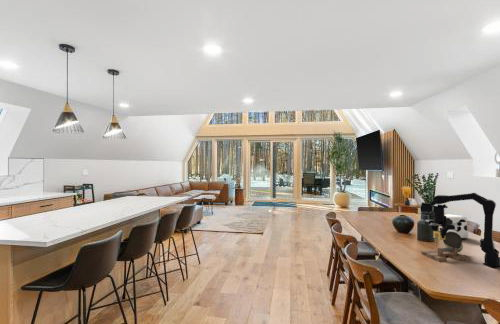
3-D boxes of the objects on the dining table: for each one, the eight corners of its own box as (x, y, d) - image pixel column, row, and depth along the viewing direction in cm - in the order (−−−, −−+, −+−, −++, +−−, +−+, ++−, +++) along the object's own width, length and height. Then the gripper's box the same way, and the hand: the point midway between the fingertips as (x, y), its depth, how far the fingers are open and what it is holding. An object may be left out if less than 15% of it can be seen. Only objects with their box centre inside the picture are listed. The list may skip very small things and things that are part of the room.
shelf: (466, 259, 167) (466, 249, 168) (438, 261, 165) (438, 250, 165) (447, 252, 181) (447, 242, 181) (421, 253, 179) (421, 243, 179)
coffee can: (462, 239, 182) (461, 232, 173) (463, 254, 178) (462, 248, 168) (444, 237, 188) (442, 230, 179) (444, 251, 184) (442, 245, 175)
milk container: (459, 235, 227) (459, 214, 227) (473, 240, 210) (473, 218, 210) (438, 234, 230) (437, 213, 230) (450, 239, 213) (450, 217, 213)
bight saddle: (445, 239, 174) (445, 232, 174) (440, 239, 173) (439, 232, 173) (438, 237, 179) (438, 230, 179) (433, 237, 179) (433, 230, 179)
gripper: (462, 216, 168) (462, 240, 168) (438, 211, 187) (438, 233, 186) (446, 216, 167) (447, 241, 167) (424, 211, 185) (424, 233, 185)
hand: (439, 237), depth 176 cm, fingers closed on bight saddle, 5 cm apart
